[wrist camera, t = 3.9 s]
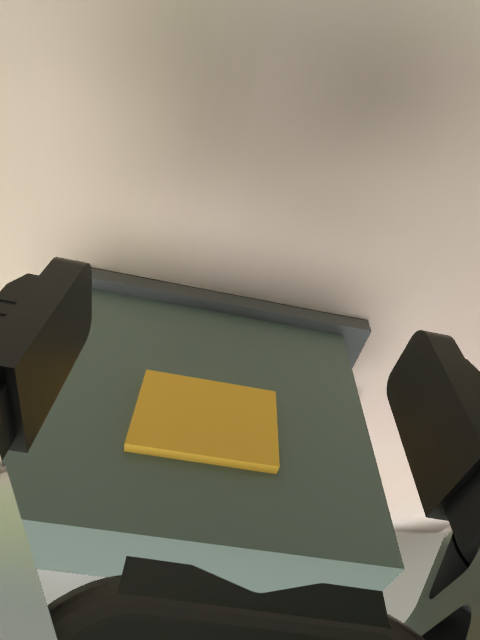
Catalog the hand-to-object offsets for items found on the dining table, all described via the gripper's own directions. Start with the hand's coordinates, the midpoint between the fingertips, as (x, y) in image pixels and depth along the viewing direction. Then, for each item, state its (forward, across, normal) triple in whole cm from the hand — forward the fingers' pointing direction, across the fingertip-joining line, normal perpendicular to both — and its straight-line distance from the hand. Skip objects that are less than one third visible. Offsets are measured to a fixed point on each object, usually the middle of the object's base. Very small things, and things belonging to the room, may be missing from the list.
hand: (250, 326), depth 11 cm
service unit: (+12, 0, +10) cm, 16 cm away
